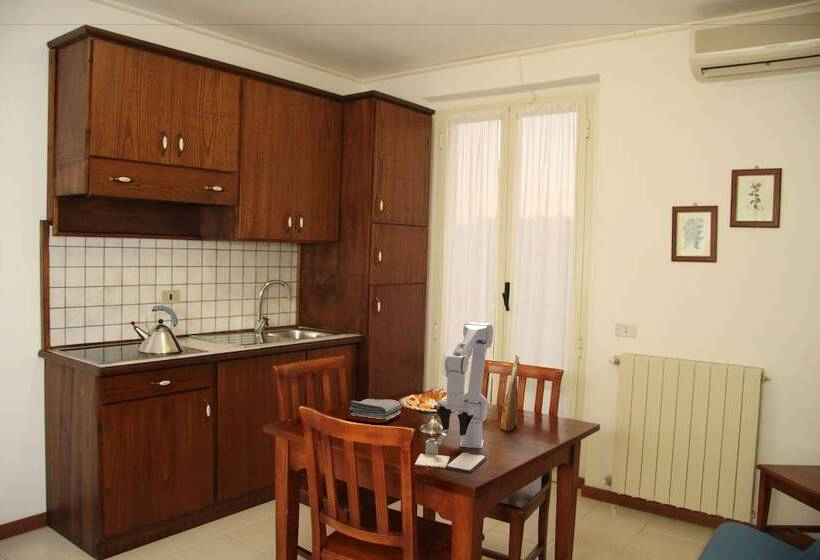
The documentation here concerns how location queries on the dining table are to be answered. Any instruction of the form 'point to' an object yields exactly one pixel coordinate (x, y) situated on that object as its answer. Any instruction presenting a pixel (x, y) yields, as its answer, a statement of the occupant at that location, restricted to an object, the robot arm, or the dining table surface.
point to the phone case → (466, 462)
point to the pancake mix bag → (511, 400)
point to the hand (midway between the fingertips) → (454, 432)
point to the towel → (375, 408)
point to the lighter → (434, 445)
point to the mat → (432, 460)
